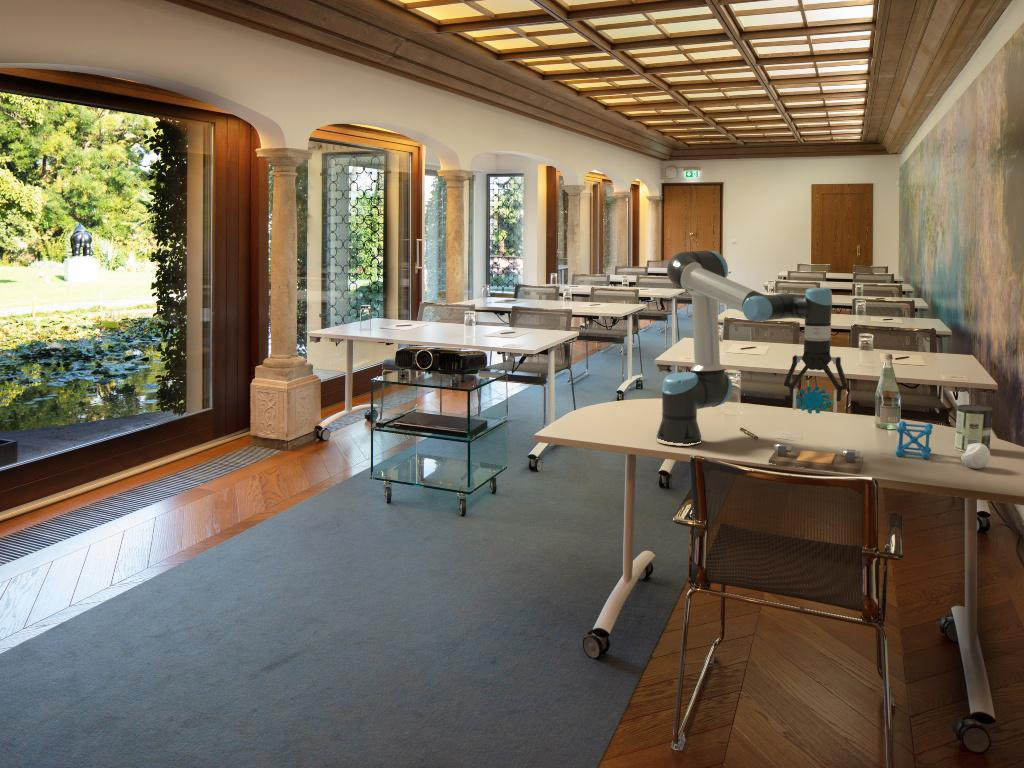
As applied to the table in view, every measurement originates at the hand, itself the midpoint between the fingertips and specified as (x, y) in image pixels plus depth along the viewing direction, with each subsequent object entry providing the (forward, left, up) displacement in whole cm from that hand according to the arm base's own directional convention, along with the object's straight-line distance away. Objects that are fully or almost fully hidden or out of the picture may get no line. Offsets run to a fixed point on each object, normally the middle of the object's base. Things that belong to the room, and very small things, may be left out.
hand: (814, 410), depth 263 cm
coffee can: (+45, +36, -17) cm, 60 cm away
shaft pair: (+1, 0, -15) cm, 15 cm away
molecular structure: (+28, +22, -17) cm, 39 cm away
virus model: (0, 0, -1) cm, 1 cm away
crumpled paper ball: (+45, +12, -17) cm, 50 cm away
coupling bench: (+1, 0, -17) cm, 17 cm away
